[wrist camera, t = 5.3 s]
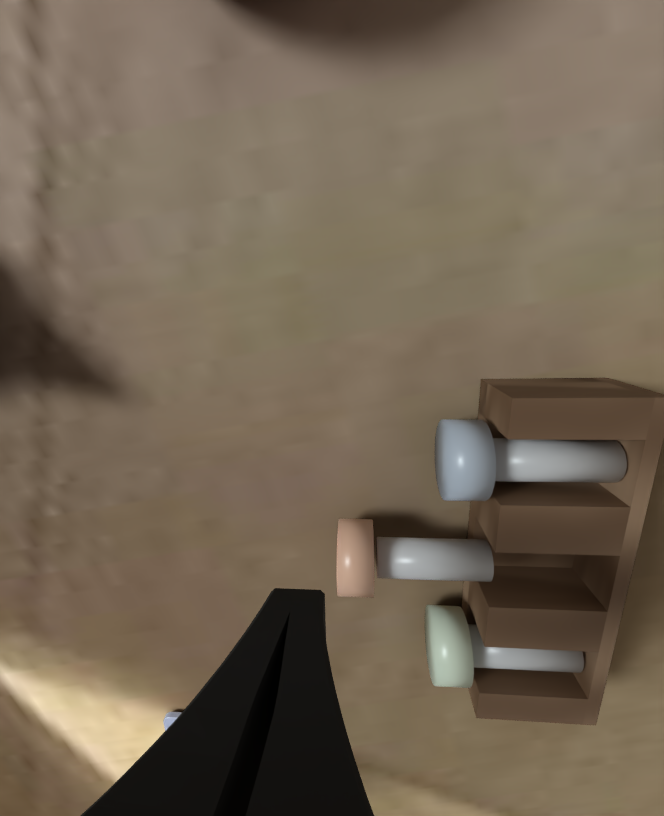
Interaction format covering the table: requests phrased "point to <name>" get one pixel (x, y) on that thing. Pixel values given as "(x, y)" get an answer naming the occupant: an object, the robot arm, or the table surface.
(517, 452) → the knob slate
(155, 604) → the table surface
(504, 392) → the mount
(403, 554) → the knob clay
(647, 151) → the table surface
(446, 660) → the knob sage
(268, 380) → the table surface
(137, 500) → the table surface
